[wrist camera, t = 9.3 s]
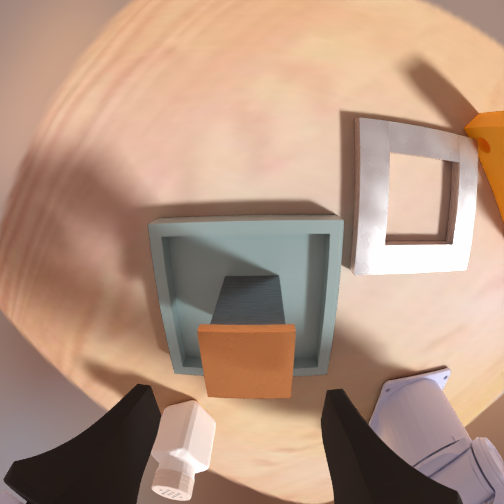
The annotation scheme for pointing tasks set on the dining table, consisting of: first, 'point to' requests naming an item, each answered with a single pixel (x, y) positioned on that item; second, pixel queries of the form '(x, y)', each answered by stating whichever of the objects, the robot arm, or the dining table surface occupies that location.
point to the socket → (377, 192)
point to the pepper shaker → (182, 448)
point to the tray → (248, 264)
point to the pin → (248, 341)
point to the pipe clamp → (490, 150)
